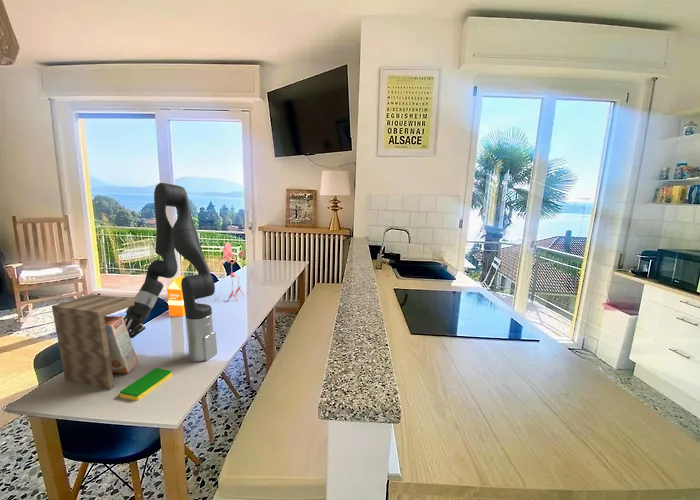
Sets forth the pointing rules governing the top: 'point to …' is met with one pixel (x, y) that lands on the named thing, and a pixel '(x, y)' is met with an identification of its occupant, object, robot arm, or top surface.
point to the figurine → (227, 256)
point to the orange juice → (176, 297)
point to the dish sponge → (145, 384)
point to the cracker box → (119, 345)
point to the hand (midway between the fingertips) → (117, 348)
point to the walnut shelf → (86, 338)
